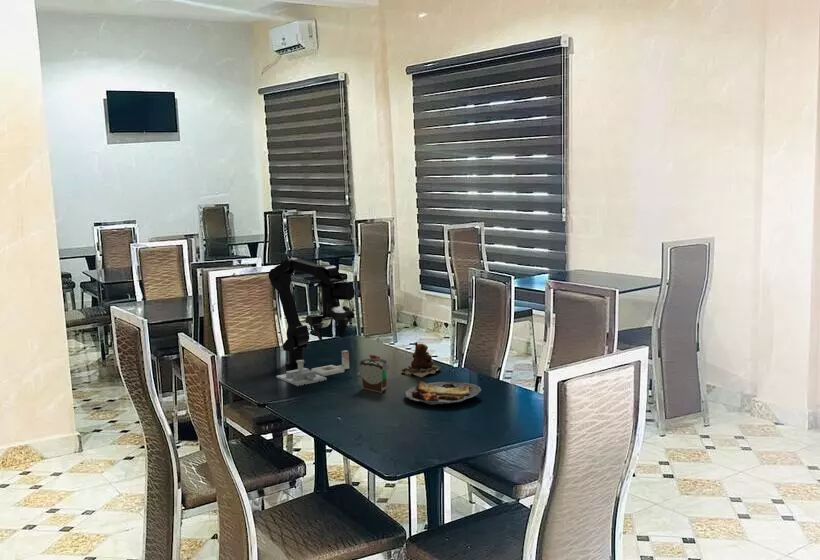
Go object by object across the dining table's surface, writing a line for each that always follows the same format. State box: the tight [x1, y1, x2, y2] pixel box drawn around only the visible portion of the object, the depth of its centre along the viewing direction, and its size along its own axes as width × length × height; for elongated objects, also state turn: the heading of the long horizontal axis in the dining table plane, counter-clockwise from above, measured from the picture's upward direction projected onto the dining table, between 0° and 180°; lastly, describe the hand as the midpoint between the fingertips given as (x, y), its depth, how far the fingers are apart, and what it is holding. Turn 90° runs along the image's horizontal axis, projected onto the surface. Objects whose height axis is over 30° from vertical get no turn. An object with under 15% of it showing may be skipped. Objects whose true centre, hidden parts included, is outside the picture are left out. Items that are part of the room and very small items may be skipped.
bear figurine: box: [400, 341, 442, 378], centre depth 296 cm, size 14×15×12 cm
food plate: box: [403, 380, 482, 406], centre depth 261 cm, size 25×23×4 cm
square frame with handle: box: [310, 349, 350, 377], centre depth 301 cm, size 14×9×7 cm, turn 127°
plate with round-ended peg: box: [275, 359, 327, 387], centre depth 291 cm, size 16×12×7 cm
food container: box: [358, 358, 390, 394], centre depth 274 cm, size 12×6×10 cm, turn 47°
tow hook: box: [356, 354, 381, 376], centre depth 296 cm, size 7×10×7 cm
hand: (331, 339), depth 302 cm, fingers open, 9 cm apart
